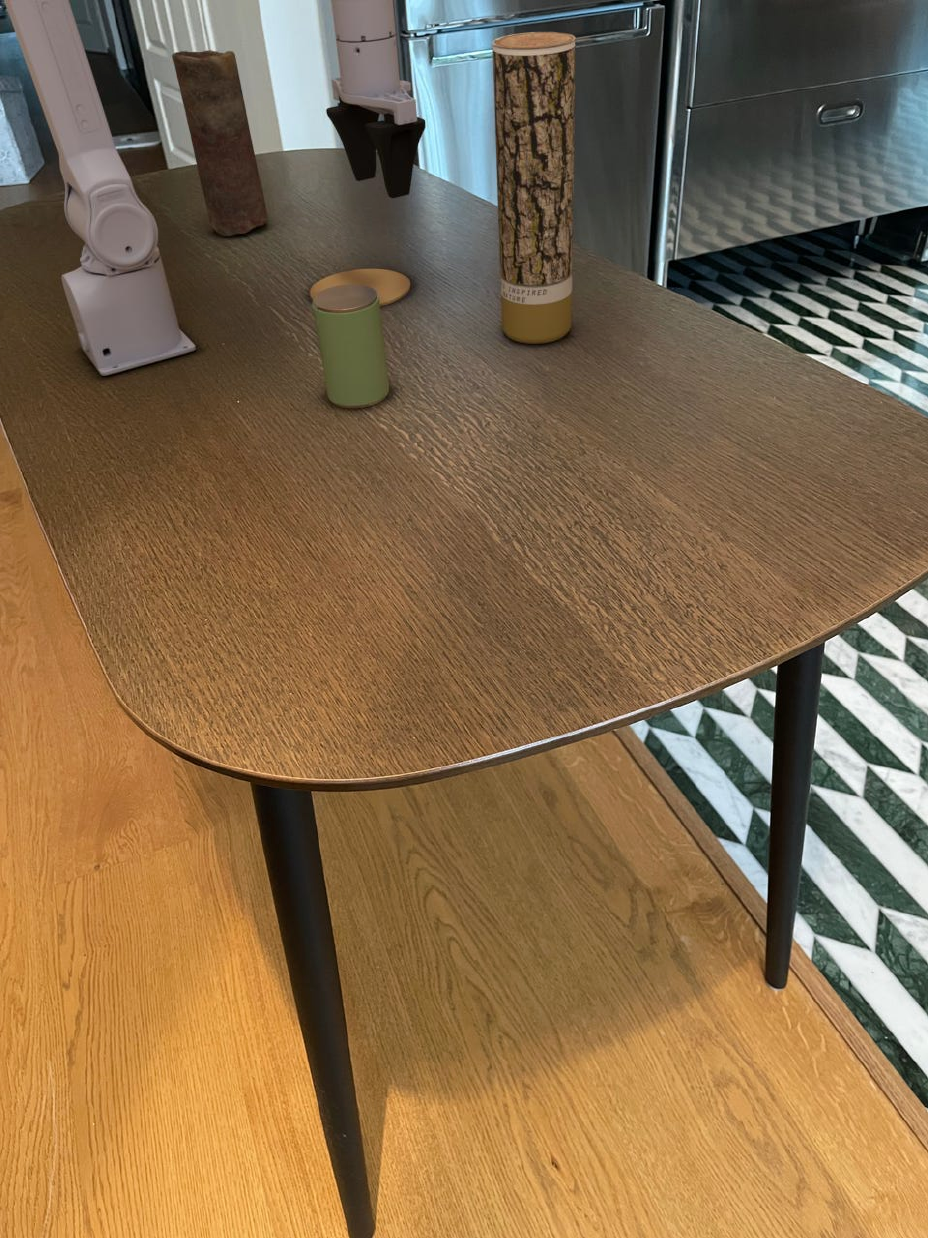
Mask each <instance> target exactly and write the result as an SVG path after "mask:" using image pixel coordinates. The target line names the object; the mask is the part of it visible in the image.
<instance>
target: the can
mask: <svg viewBox="0 0 928 1238" xmlns="http://www.w3.org/2000/svg"><path fill="white" fill-rule="evenodd" d="M312 311H313V316H314V323H315V328H316V335H317V341H318V349H319V354H320V360H321V365H322V372H323V378H324V384H325V385H324V386H325V390H326V396H327V398H328V400H329V402H330V403H331V404H332V405H334V406H336V407H339V408H341V409H342V408H343V409H352V410H353V409H354V410H355V409H363V408H365V409H366V408H369V407H373V406H375V405H378V404H379V403H381V402H382V401H384V400H385V399H386V398H387V397H388V395H389V392H390V382H389V381H390V380H389V375H388V373H389V372H388V365H387V357H386V348H385V340H384V331H383V322H382V313H381V306H380V305H379V297H378V295H377V292H376V291H375V290H374V289H373V288H371V287H368V286H364V285H352V284H351V285H340V286H335V287H331V288H328V289H325V290H323V291H321V292H319V293H318V294H316V295H315V296H314V298H313V301H312Z"/></svg>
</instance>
